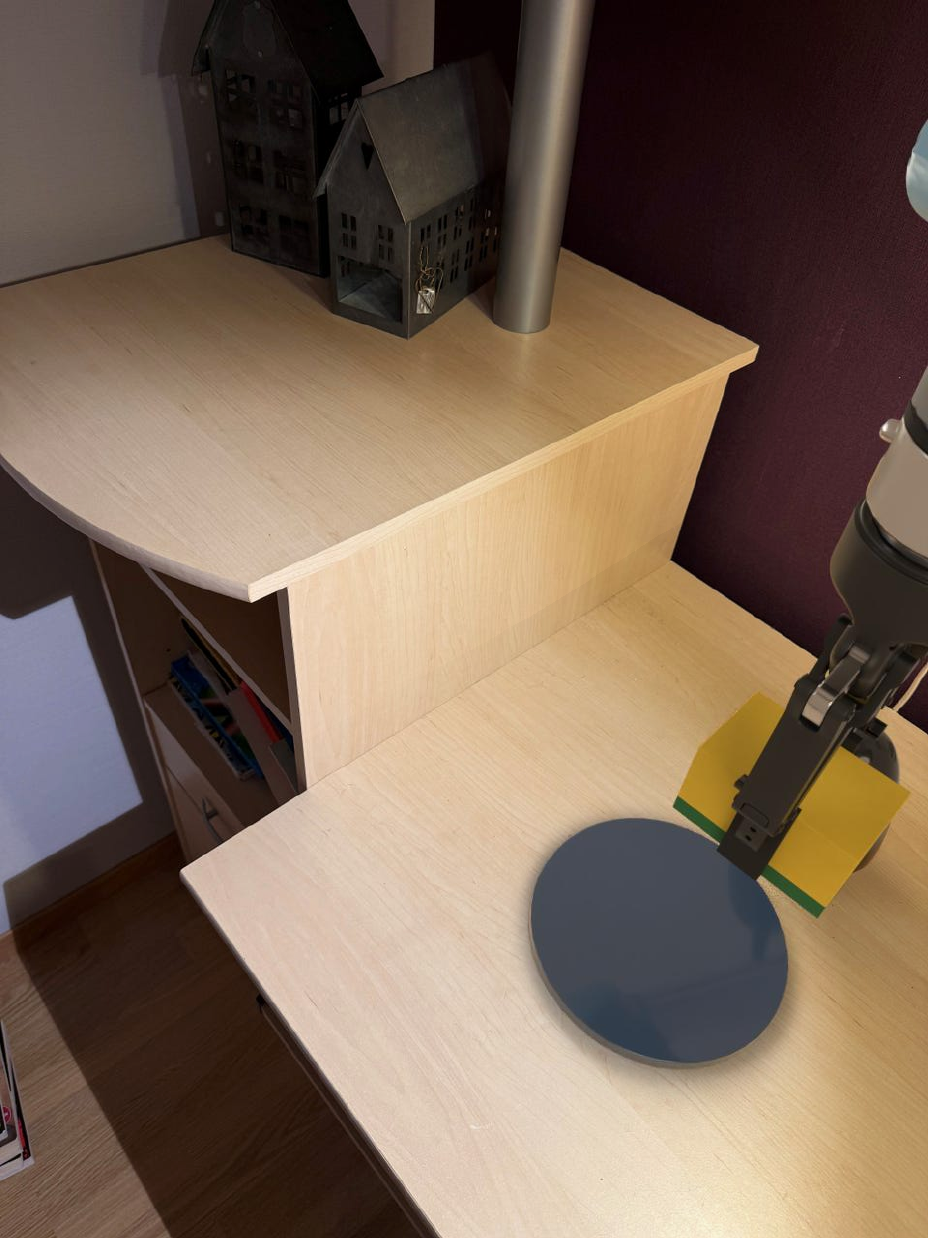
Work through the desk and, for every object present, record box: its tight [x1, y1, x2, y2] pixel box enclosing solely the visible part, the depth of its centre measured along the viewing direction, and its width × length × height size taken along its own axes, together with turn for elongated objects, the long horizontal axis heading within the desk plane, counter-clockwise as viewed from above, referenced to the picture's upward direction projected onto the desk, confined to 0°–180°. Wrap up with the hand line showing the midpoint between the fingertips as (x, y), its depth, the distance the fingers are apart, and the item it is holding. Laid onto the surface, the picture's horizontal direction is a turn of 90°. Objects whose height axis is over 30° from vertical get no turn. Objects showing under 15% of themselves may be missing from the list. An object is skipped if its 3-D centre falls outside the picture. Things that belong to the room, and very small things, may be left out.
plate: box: [528, 817, 789, 1070], centre depth 71 cm, size 20×20×1 cm
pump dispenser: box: [852, 729, 901, 874], centre depth 73 cm, size 10×10×15 cm
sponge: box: [672, 690, 912, 919], centre depth 53 cm, size 10×6×6 cm, turn 45°
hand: (770, 826), depth 55 cm, fingers closed on sponge, 6 cm apart
